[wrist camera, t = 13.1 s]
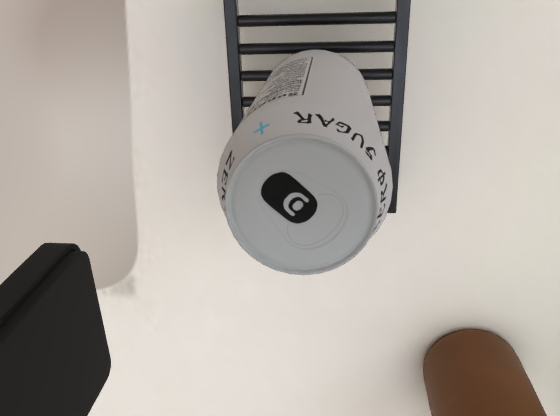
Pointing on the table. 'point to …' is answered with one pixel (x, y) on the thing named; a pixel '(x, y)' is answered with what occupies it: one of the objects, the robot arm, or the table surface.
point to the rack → (396, 47)
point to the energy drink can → (306, 167)
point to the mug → (477, 378)
